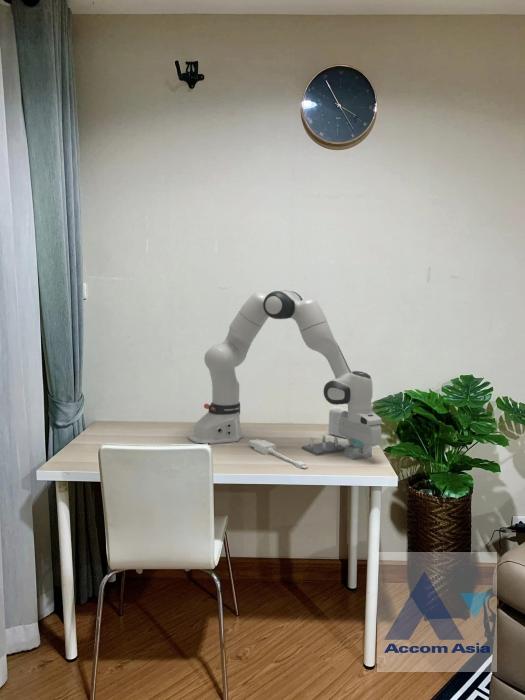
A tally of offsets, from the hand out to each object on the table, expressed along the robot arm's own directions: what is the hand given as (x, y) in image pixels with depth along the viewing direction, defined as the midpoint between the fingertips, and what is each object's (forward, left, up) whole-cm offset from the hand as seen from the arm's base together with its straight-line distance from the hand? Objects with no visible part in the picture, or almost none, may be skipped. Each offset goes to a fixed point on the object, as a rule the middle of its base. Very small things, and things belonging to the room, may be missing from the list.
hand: (358, 451), depth 228 cm
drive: (0, 0, -2) cm, 2 cm away
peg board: (-6, +13, -2) cm, 14 cm away
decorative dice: (+12, +12, -2) cm, 17 cm away
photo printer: (+12, +25, -2) cm, 28 cm away
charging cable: (-27, +14, -2) cm, 31 cm away
